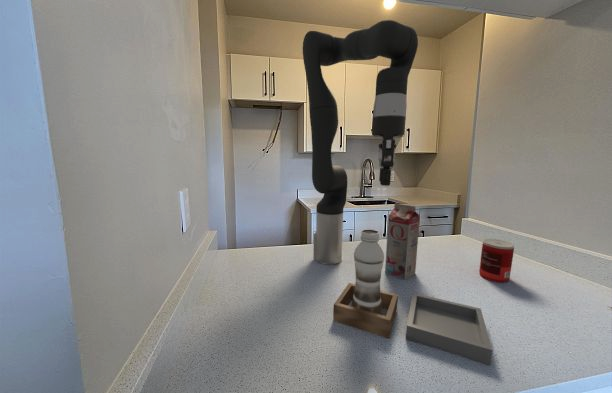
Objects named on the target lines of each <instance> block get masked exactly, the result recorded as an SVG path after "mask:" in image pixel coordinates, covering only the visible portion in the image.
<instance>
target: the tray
mask: <svg viewBox="0 0 612 393" xmlns="http://www.w3.org/2000/svg"><path fill="white" fill-rule="evenodd" d="M410 301H411V302H410V307H409V311H408V312H409V313H408V317H407V321H406V322H407V323H406V331H405V340H408V341H412V342H413V343H417V344H420V345H423V346H426V345H427V346H426V347H430V348H433V347H434V349H436V350H439V351H442V352H446V353H449V354H453V355H456V356H459V357H462V358H466V359H468V360H471V361H474V362H478V363H480V364H481V363H482V364H484V365H488V366H491V364H492V363H491V362H492V356H493V348H492V345H491V340H490V338H489V333H488V330H487V325H486V323H485V318H484V315H483V312H482V308H480V307H475V306H471V305H467V304H463V303H457V302H454V301H450V300H446V299H441V298H436V297H433V296H428V295H424V294H419V293H415V292H413V293H412V296H411V300H410Z"/></svg>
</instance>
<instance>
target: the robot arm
mask: <svg viewBox="0 0 612 393" xmlns="http://www.w3.org/2000/svg"><path fill="white" fill-rule="evenodd" d="M418 46H419V39H418V34H417V31H416V30H415V28H413V27H411V26H408V25H406V24H403V23H401V22H399V21H396V20H392V19H385V20H384V19H383V20H380V21H377V23H375V24H373V25H372V26H369V28H368V27H367V28H364V29H363V28H362V29H359V30H357V29H356V30H353V31H352V32H349V33H348V34H347V35H346V36H345V37H339V36H335V35H332V34H329V33H326V32H320V31H317V30H309V31H307V33H306V34H305V35H304V36H303V41H302V59H303V66H304V70H305V77H306V84H307V91H308V92H307V95H308V103H309V104H308V105H309V106H308V111H309V122H310V123H309V124H310V129H311V130H310V132H311V134H310V135H311V149H312V150H311V152H312V156H311V157H312V158H311V179H312V180H311V181H312V185H313V187H314V189H315V190H316V191H317V193H320V194H323V197H322V198H321V200H319V201H318V202H317V203H316V209H315V210H316V212H315V213H316V218H315V220H316V223H315V224H316V226H315V229H316V230H315V232H314V233H313V253H312V256H313V260H314V261H316V262H318V263H319V264H324V265H336V264H339V263H341V262H342V257H343V228H344V226H343V225H344V207H345V206H346V203H347V195H348V174H347V171H346V170H345V168H344V167H343V166H341V165H337V164H334V165H333V161H332V147H333V143H334V141H335V138H336V134H337V131H338V127H339V114H338V113H339V111H338V103H337V100H336V98H335V96H334V93H332V91H331V89H330V88H329V85H328V84H327V82H326V79H325V78H324V75H323V72H322V67H330V66H334V65H336V64H339V63H343V62H346V61H372V60H374V59H377V58H378V57H381V58H385V59H389V60H390V65H389V67H385V68H382V69H380V70H379V71H378V73H377V75H376V78H375V79H376V81H375V96H374V102H373V110H372V128H371V135H372V137H375V138H381V142H380V143H379V144H378V146H377V147H378V149H377V151H378V161H379V162H378V166H379V179H378V180H379V182H380V183H379V184H380V185H381V186H387V187H388V186H390V185H391V178H392V170H393V169H394V164H395V159H396V157H395V156H396V155H395V154H396V151H397V144H396V140H395V139H394V138H400V137H401V138H402V137H404V136H405V132H406V130H405V129H406V121H407V120H406V117H407V109H408V108H407V107H408V106H407V104H408V103H407V102H408V101H407V93H408V92H407V91H408V78H409V75H410V73H411V72H410V71H411V69H412V67H413V63H414V60H415V57H416V55H417V50H418Z"/></svg>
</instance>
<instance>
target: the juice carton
mask: <svg viewBox="0 0 612 393" xmlns="http://www.w3.org/2000/svg"><path fill="white" fill-rule="evenodd" d="M420 220H421V215H420V214H418V212H417V211H416V206H415V205H410V204H402V203H397V202H395V203H394V206H393V209H392V210H391V211H390V212H389V214H388V220H387V233H386V251H385V266H384V268H385V269H384V273H386V274H389V275H391V276H394V277H396V278H399V279H400V280H401V279H402V280H404V281H406V280H407V279H409V278H410V277H412V276H414V275H415V274H416V270H417V267H416V266H417V255H418V243H419V231H420Z"/></svg>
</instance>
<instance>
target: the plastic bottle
mask: <svg viewBox="0 0 612 393" xmlns="http://www.w3.org/2000/svg"><path fill="white" fill-rule="evenodd" d="M360 240H361V241H360V243H359V244H358V245H357V246H356V247H355V249H354V252H353V259H354V269H355V274H354V275H355V283H354V284H355V291H354V295H353V300H351V301H352V302H351V307H355V308H358V309H362V310H365V311H369V312H372V313H376V314H379V315H382V314H381V313H382V310H383V309H382V301H381V295H380V290H381V279H382V271H383V270H382V269H383V267H384V266H383V265H384V261H385V255H384V254H385V253H384V251H383V249H382V246H380V244H379V243H378V242H379V241H380V232H379V231H378V230H377V229H376V230H375V229H370V228H368V229H367V228H366V229H362V230H361V235H360Z"/></svg>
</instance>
